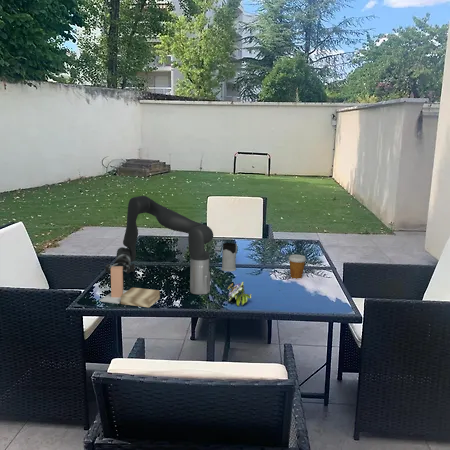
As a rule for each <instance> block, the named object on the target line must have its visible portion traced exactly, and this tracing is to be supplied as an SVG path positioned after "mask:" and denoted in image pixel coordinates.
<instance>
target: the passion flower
mask: <svg viewBox="0 0 450 450" xmlns="http://www.w3.org/2000/svg"><path fill="white" fill-rule="evenodd" d="M244 283H245V282H244V281H242V282H239V283H235V284H234V282H232V283H231V284H229V285H228V287H227V288H226V290H229V289H230V290H229V291H228V295H227V297H228V298H229V299H228V302H232V300H233V299H234V298H235V300H236V306H237V307H240V304H241V306H243V305H245V304H246V303H247V302H248V299H252V293H246V292H245V285H244ZM233 285H234V286H233Z"/></svg>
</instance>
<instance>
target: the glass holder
mask: <svg viewBox="0 0 450 450" xmlns="http://www.w3.org/2000/svg"><path fill="white" fill-rule="evenodd" d="M237 252H238V244H237V243H234V242H224V243H222V252H221V253H222V254H221V255H222V258H221V260H222V261H221V271H223V272H235V271H236V270H237V268H236V261H237V259H236V257H237Z"/></svg>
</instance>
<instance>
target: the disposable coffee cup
mask: <svg viewBox="0 0 450 450" xmlns="http://www.w3.org/2000/svg"><path fill="white" fill-rule="evenodd" d="M288 261H289V272H290V273H289V274H290V278H291V277H292V278H291V279H293V278H301V279H302V278H303V275H304V269H305V263H306V261H307V258H306V256H305V255H301V254H290V255H289V257H288Z"/></svg>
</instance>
